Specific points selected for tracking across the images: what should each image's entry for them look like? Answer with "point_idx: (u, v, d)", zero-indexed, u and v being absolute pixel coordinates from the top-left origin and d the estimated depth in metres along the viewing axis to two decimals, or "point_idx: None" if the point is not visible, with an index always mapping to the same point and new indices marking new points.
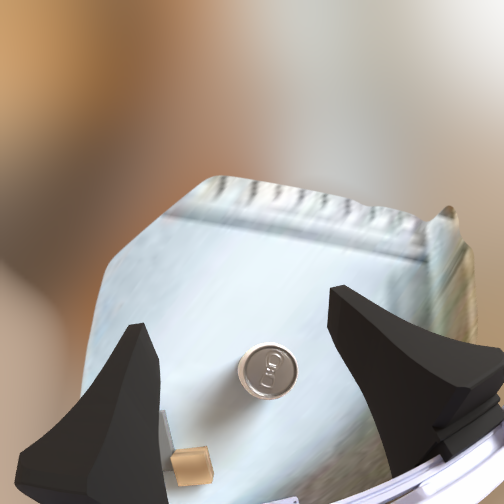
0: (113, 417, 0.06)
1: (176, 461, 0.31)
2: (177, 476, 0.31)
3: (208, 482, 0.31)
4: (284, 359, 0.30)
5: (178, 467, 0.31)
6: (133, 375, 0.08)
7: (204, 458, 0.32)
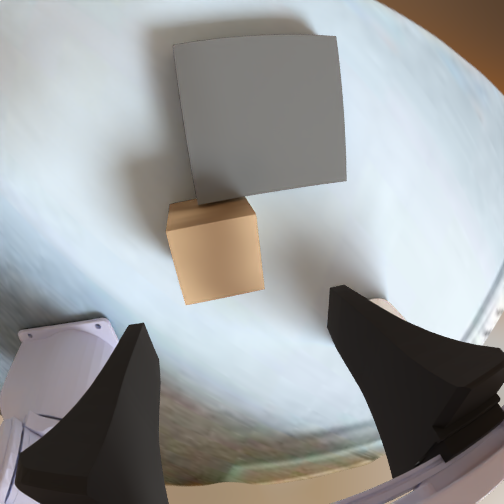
0: (113, 417, 0.06)
1: (244, 229, 0.15)
2: (198, 230, 0.15)
3: (187, 298, 0.17)
4: None
5: (226, 233, 0.15)
6: (133, 375, 0.08)
7: (252, 289, 0.17)
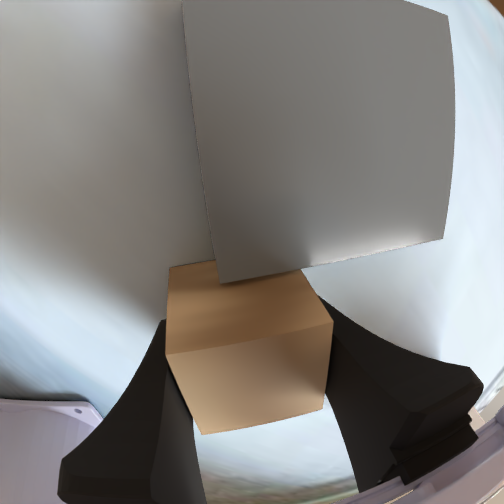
0: (162, 414, 0.06)
1: (310, 344, 0.08)
2: (226, 352, 0.08)
3: (204, 429, 0.09)
4: None
5: (278, 353, 0.08)
6: None
7: (305, 410, 0.10)
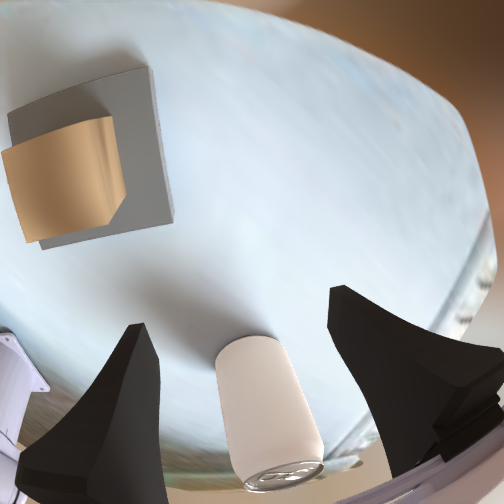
0: (113, 417, 0.06)
1: (74, 141, 0.10)
2: (27, 146, 0.10)
3: (26, 234, 0.11)
4: (296, 479, 0.17)
5: (55, 148, 0.10)
6: (133, 375, 0.08)
7: (94, 224, 0.12)
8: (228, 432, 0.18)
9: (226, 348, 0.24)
